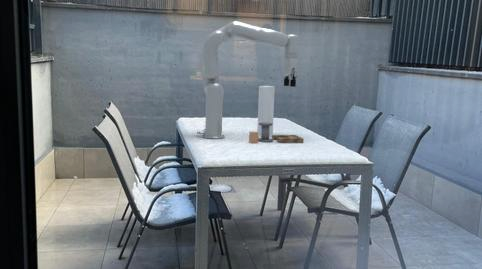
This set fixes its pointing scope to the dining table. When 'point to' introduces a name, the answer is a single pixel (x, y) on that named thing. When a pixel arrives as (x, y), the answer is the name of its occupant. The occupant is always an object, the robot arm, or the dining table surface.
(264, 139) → the spool
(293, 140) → the board
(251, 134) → the tab
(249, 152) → the dining table surface
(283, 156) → the dining table surface
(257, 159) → the dining table surface
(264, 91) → the white tall cylinder
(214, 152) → the dining table surface
